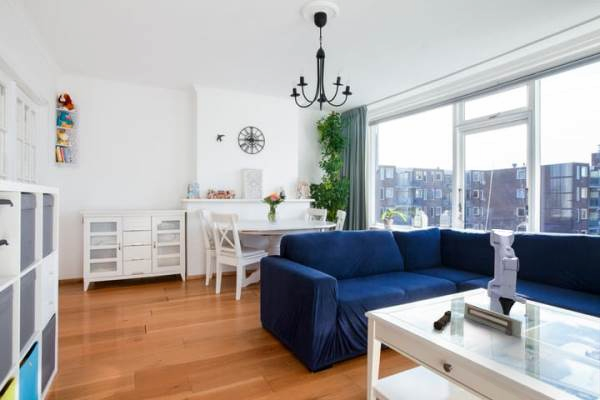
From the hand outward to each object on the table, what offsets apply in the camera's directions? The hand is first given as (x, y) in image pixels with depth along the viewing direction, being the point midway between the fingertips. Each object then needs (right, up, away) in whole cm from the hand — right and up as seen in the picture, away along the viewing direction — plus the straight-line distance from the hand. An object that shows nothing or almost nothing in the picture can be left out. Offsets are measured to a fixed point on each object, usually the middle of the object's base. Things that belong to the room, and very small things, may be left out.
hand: (506, 314), depth 148 cm
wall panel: (-3, -8, +7) cm, 11 cm away
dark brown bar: (-25, -8, +8) cm, 27 cm away
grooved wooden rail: (-4, -5, +7) cm, 10 cm away
